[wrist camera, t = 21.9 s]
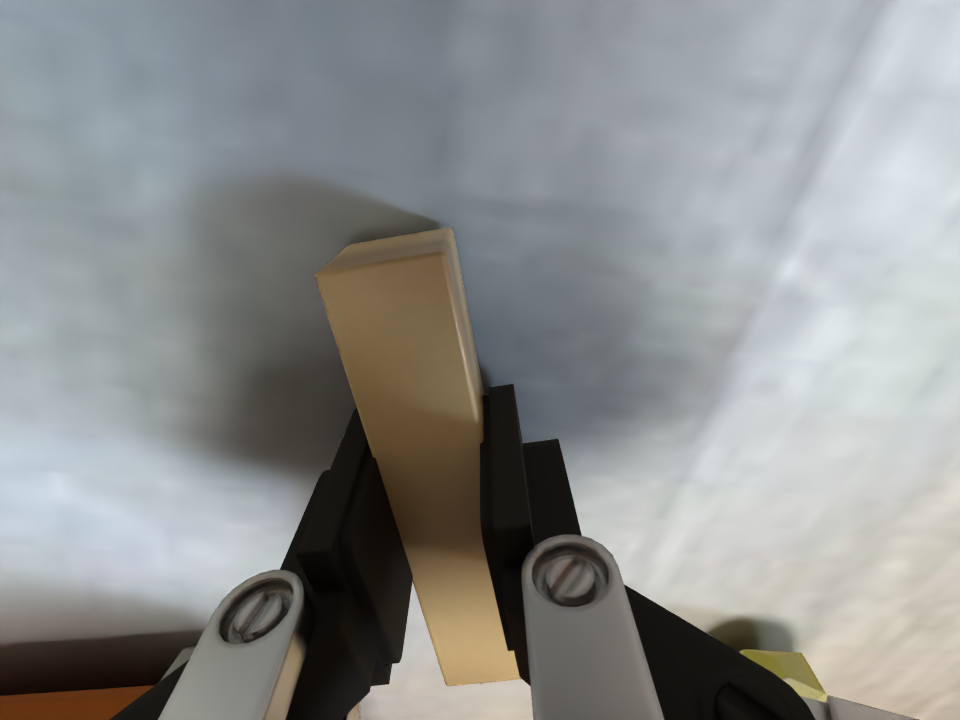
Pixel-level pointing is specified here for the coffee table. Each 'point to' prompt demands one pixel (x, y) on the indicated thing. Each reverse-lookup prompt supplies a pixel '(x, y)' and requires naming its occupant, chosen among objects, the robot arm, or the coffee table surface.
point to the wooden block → (424, 430)
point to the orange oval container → (78, 701)
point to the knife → (790, 671)
